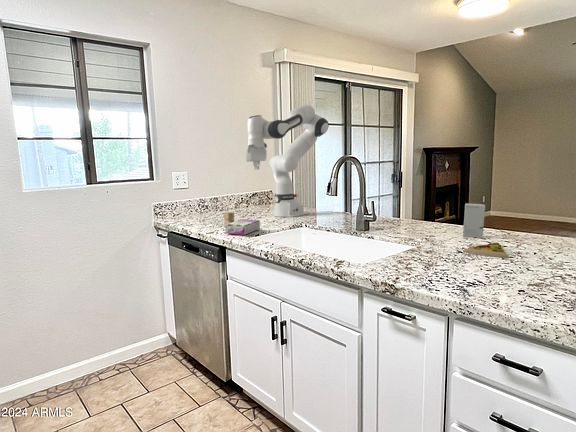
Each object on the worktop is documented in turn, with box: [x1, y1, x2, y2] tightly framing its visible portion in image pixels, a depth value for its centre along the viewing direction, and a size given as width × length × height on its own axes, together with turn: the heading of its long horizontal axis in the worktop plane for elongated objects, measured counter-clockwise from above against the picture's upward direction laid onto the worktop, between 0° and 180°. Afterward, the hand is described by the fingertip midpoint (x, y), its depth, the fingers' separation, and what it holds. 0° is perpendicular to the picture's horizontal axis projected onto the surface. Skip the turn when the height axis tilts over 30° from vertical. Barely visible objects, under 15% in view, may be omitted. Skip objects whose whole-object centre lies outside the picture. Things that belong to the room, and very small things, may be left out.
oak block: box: [223, 211, 235, 228], centre depth 215 cm, size 4×4×8 cm
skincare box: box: [462, 203, 486, 239], centre depth 174 cm, size 8×6×15 cm
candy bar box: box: [224, 218, 261, 236], centre depth 198 cm, size 11×5×16 cm
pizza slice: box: [462, 242, 509, 259], centre depth 150 cm, size 16×21×3 cm
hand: (256, 169), depth 219 cm, fingers closed
